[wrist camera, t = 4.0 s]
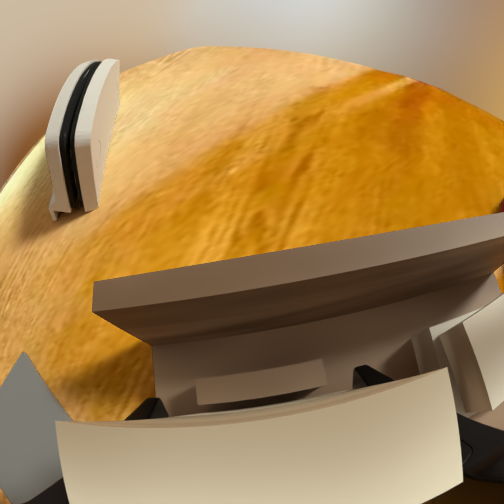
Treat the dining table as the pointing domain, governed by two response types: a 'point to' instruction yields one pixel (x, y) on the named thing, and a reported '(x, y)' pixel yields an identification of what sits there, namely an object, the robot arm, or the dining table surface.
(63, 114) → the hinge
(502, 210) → the canned food
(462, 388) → the offcut stack
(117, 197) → the dining table surface
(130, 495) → the birch board
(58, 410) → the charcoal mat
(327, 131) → the dining table surface
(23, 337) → the dining table surface
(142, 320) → the grey desk organizer
